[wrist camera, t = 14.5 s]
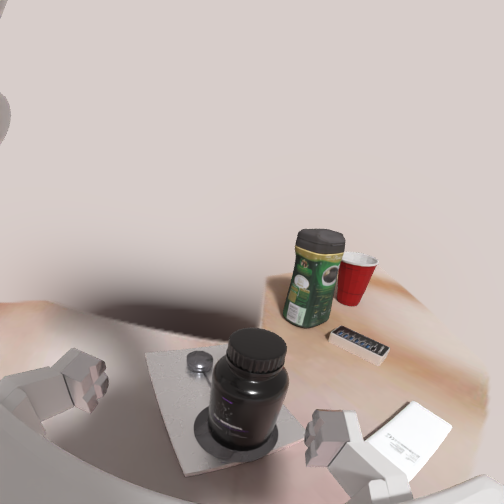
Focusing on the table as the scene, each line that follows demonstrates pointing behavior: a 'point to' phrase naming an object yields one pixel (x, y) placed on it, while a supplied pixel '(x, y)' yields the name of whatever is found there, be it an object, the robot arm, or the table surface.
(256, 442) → the supplement bottle
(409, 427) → the external hard drive
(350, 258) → the plastic cup
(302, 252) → the coffee jar
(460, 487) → the robot arm
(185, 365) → the plate
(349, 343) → the multiport hub
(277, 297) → the table surface
